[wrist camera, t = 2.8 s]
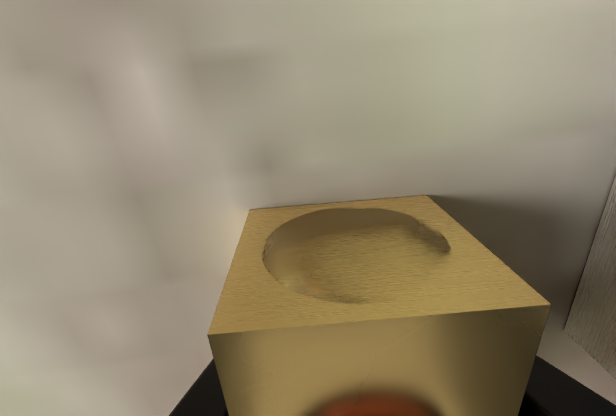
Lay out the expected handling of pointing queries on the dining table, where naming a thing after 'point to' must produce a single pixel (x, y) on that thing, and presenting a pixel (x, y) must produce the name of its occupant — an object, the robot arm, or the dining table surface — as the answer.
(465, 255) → the button box
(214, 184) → the dining table surface
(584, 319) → the metal bracket
